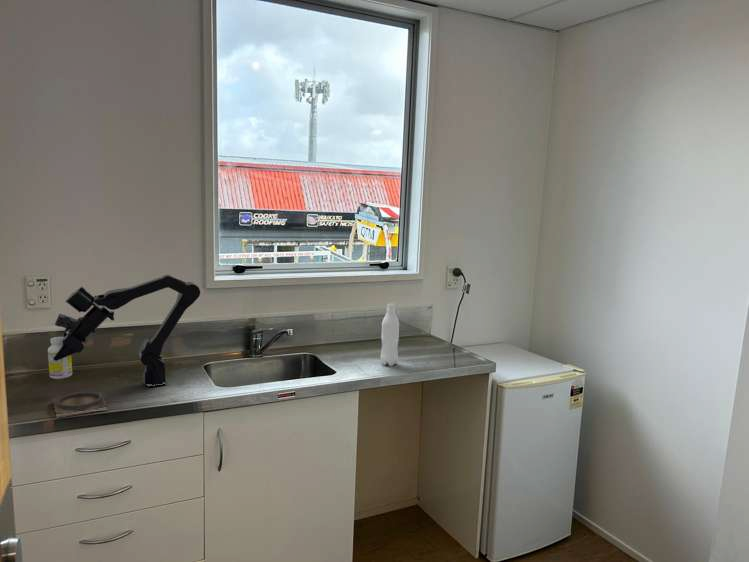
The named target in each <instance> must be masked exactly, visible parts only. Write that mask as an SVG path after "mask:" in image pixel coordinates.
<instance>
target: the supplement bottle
mask: <svg viewBox="0 0 749 562" xmlns="http://www.w3.org/2000/svg"><path fill="white" fill-rule="evenodd" d="M64 338H65V337H64V336H54V337H51V338H50V344H51V345H50V346H49V347H48V348H47V360H48V372H49V375H48V376H49V378H51V379H54V380H60V379H66V378H69V377H71V376H73V364H72V361H73V359H72V354H71V355H69V356H67V357H64V358H62V359H60V360H57V361H55V360H54V359H53V358H54V357H55V356H56V354H57V353H58V351H59V350H60V349H61V347H62V346H63V339H64Z"/></svg>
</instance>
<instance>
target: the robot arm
mask: <svg viewBox="0 0 749 562" xmlns="http://www.w3.org/2000/svg"><path fill="white" fill-rule="evenodd" d="M167 288H169V289H170V290H173V291H175V292H177V293H178V294H177V297H176V299H175V303H174V305H173V306H172V307H171V309H170V311H169V312H168V314H167V315H166V317H165V318H164V320H163V321H162V322H161V324H160V326H159V328H158V329H157V330H156V332H155V333H154V335H153V336H152V337H151V338H150V339H147V338H145V339H144V340H143V343H142V345H140V346H139V351H138V356H139V359H140V362H141V363H142V365H144V371H143V372H142V373H143V375H142V376H143V379H142V380H143V384H144V385H145V384H152V385H154V384H155V385H156V384H162V383H163V382H166V363H165V360H164V359H163V357H162V355H161V354H162V351H163V347H164V344H165V342H166V341H167V340H168V338H169V336H170V335H171V333H172V332H173V330H174V328H175V327H176V325H177V324H178V323H179V321H180V319H181V318H182V316H183V315H184V313H185V312H186V310H187V309H188V308H189V307H191V306H192V305H193V304H194V303H195V302H196V301H197V300H198V298H199V297H200V295H201V288H199V286H198V285H197V284H195V283H194V282H192V281H187V282H186V281H183V280H181V279H178V278H176V277H174V276H172V275H170V274H164V275H163V276H160V277H157V278H154V279H151V280H149V281H145V282H142V283H139V284H136V285H134V286H131V287H125V288H115V289H110V290H108V291H106V292H105V293H104V294H103V293H102V294H97V295H92V294H91V293H90V292H89V291H87V290H86V289H85V287H84V286H80V287H79V288H77V289H76V290H75V291H73V292H72V293H71V294H70V295H69V296H68V297H67V298H66V299H65V303H66V304H68V305H69V306H70V307H72V308H73V309H74V310H76V311H77V312H78V313H81V312H82V313H85V314H84V315H83V316H81V317H78V318H74V317H71V316H68V315H65V314H63V313H59V314H58V316H57V318H56V320H55V321H54V326H56V327H59V328H60V327H61V328H64V331H63V337H65V338H64V339H63V346H62V347H61V349H60V350H59V351H58V353H57V354H56V356H55V357H54V358H53V359H54V360H55V361H57V360H60V359H62V358H64V357H67V356H69V355H71V356H72V355H73V354H77V353H81V352H82V351H83V350H84V349H85V343H86V341H87V339H88V338H90V336H91V335H92V333H93V334H94V333H96V331H97V329H98V327H100V325H102V324H103V323H104V322H105V321H106V319H109V320H111V321H115V317H114V316H115V311H114V310H118V309H120V308H121V307H123V306H126V305H127V304H128V303H130V302H132V301H134V300H135V299H138V298H141V297H144V296H147V295H149V294H153V293H155V292H159V291H162V290H165V289H167ZM110 310H111V311H110ZM166 383H167V382H166Z"/></svg>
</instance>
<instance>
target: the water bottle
mask: <svg viewBox="0 0 749 562" xmlns="http://www.w3.org/2000/svg"><path fill="white" fill-rule="evenodd" d="M399 332H400V321H399V319H398V316H397V314H396V304H395V303H392V302H391V303H387V308H386V313H385V315H384V317H383V320H382V321H381V336H380V340H381V351H380V361H381V362H380V363H382V365H383V366H386V365H388V366H389V367H392V366H395V365H397V363H398V360H399V352H398V346H399V345H398V344H399V340H400V335H399V334H400V333H399ZM394 364H395V365H394Z"/></svg>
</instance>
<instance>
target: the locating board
mask: <svg viewBox="0 0 749 562" xmlns="http://www.w3.org/2000/svg"><path fill="white" fill-rule="evenodd" d="M53 403H54V406H53V408H54V407H55V411H54V413H55V412H56V414H63V413H71V412H77V411H85V410H90V409H98V408H103V407H109V406H108V404H107V401H106V400H105V397H104V395H103V393H102V391H100V392H96V391H79V392H72V393H69V394H65V395H62V396H60V397H57V398H52V404H53Z"/></svg>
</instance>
